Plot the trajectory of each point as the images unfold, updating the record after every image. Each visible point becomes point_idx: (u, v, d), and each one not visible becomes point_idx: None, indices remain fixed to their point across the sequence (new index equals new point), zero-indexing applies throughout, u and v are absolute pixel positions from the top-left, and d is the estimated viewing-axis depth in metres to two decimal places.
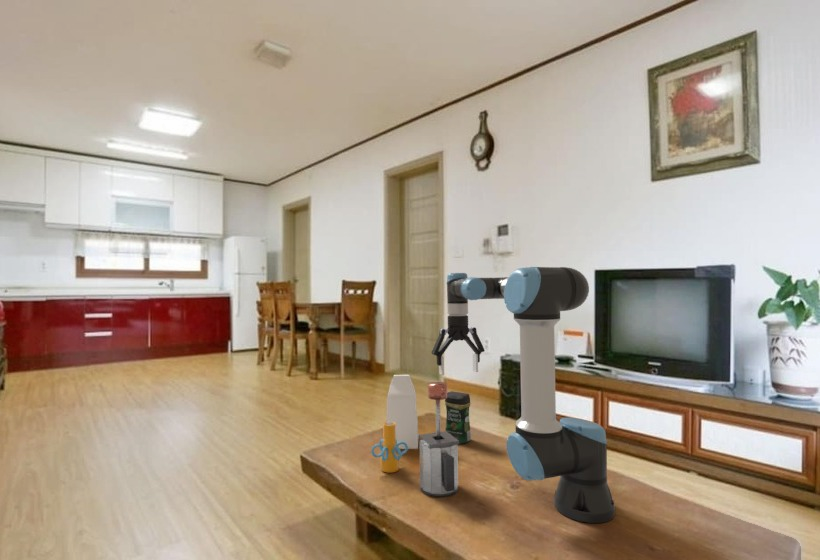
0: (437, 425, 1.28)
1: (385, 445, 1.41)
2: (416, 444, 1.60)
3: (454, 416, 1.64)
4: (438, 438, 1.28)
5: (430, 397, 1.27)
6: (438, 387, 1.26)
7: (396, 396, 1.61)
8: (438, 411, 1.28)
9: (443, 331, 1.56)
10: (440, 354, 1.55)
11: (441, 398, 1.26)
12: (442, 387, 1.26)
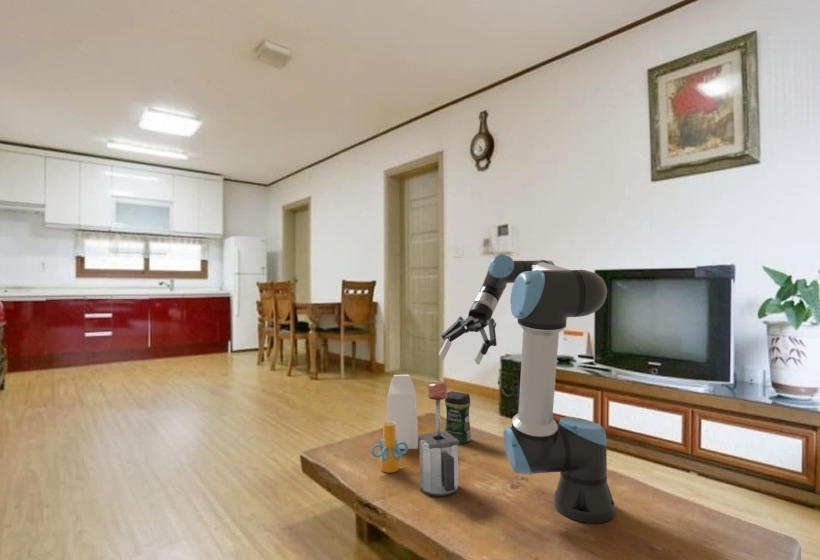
0: (437, 425, 1.28)
1: (385, 445, 1.41)
2: (416, 444, 1.60)
3: (454, 416, 1.64)
4: (438, 438, 1.28)
5: (430, 397, 1.27)
6: (438, 387, 1.26)
7: (396, 396, 1.61)
8: (438, 411, 1.28)
9: (459, 318, 1.49)
10: (446, 336, 1.45)
11: (441, 398, 1.26)
12: (442, 387, 1.26)
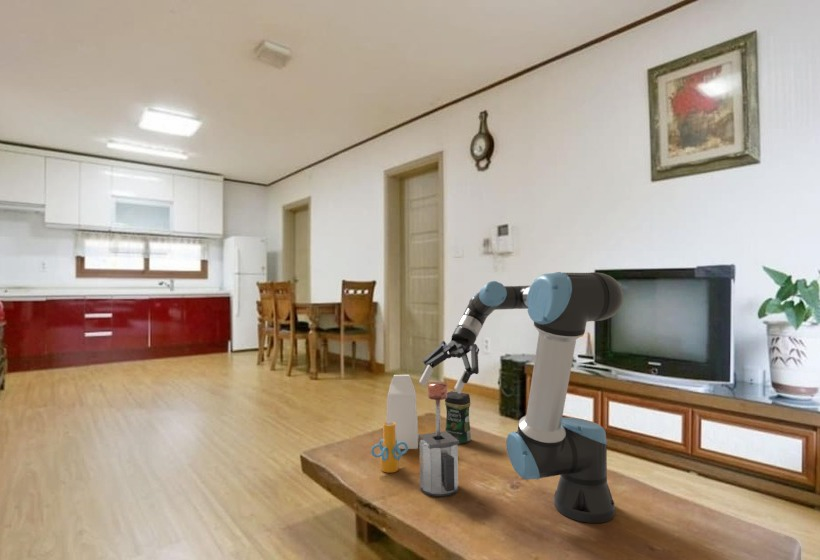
0: (437, 425, 1.28)
1: (385, 445, 1.41)
2: (416, 444, 1.60)
3: (454, 416, 1.64)
4: (438, 438, 1.28)
5: (430, 397, 1.27)
6: (438, 387, 1.26)
7: (396, 396, 1.61)
8: (438, 411, 1.28)
9: (442, 342, 1.43)
10: (428, 362, 1.40)
11: (441, 398, 1.26)
12: (442, 387, 1.26)
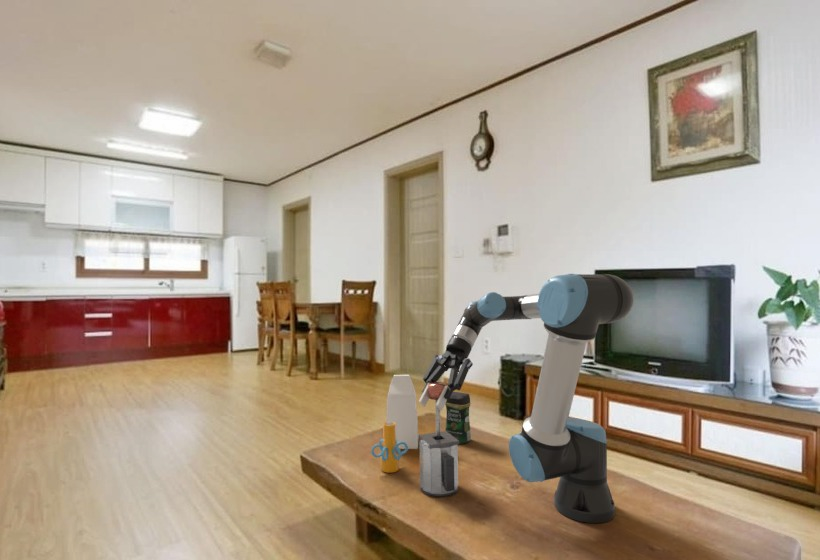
0: (437, 425, 1.28)
1: (385, 445, 1.41)
2: (416, 444, 1.60)
3: (454, 416, 1.64)
4: (438, 438, 1.28)
5: (430, 397, 1.27)
6: (438, 387, 1.26)
7: (396, 396, 1.61)
8: (438, 411, 1.28)
9: (435, 356, 1.38)
10: (428, 380, 1.32)
11: None
12: (442, 387, 1.26)
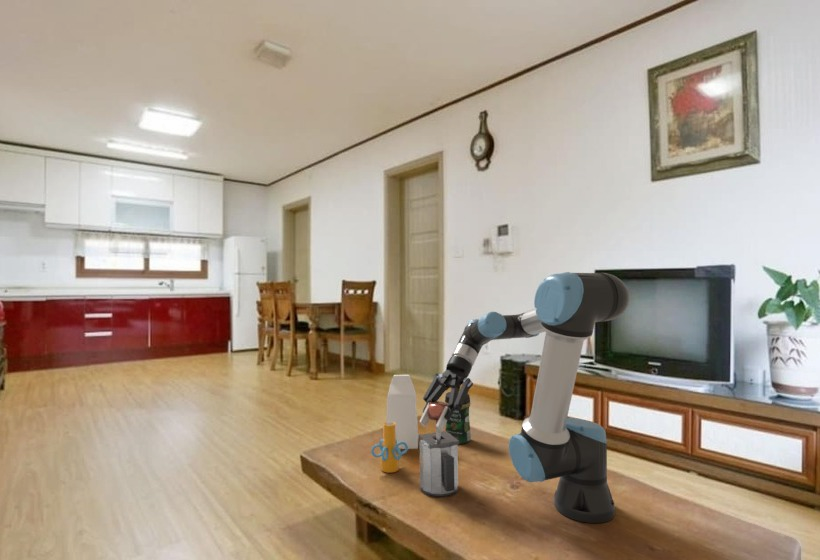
0: None
1: (385, 445, 1.41)
2: (416, 444, 1.60)
3: (454, 416, 1.64)
4: None
5: (430, 417, 1.27)
6: (438, 408, 1.26)
7: (396, 396, 1.61)
8: (438, 431, 1.28)
9: (435, 375, 1.38)
10: (428, 399, 1.32)
11: None
12: (442, 407, 1.26)
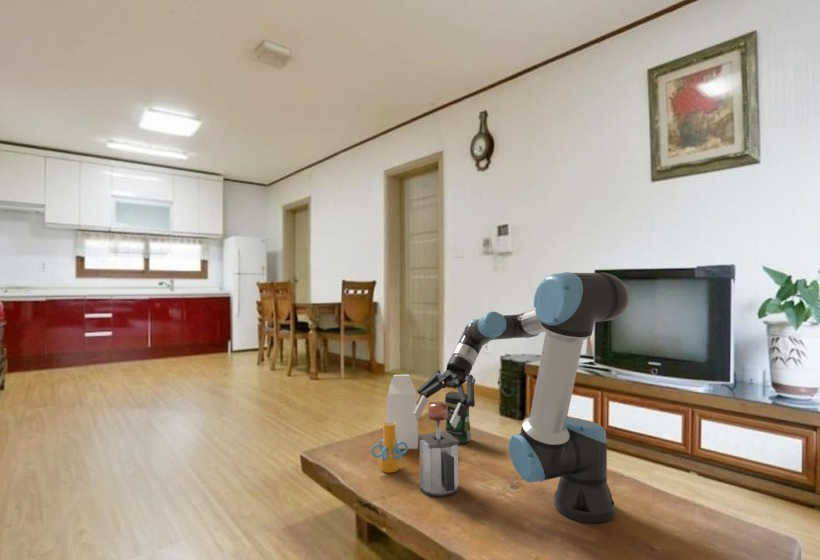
0: None
1: (385, 445, 1.41)
2: (416, 444, 1.60)
3: None
4: None
5: (430, 417, 1.27)
6: (438, 408, 1.26)
7: (396, 396, 1.61)
8: (438, 431, 1.28)
9: (437, 371, 1.39)
10: (422, 392, 1.36)
11: (441, 419, 1.26)
12: (442, 408, 1.26)
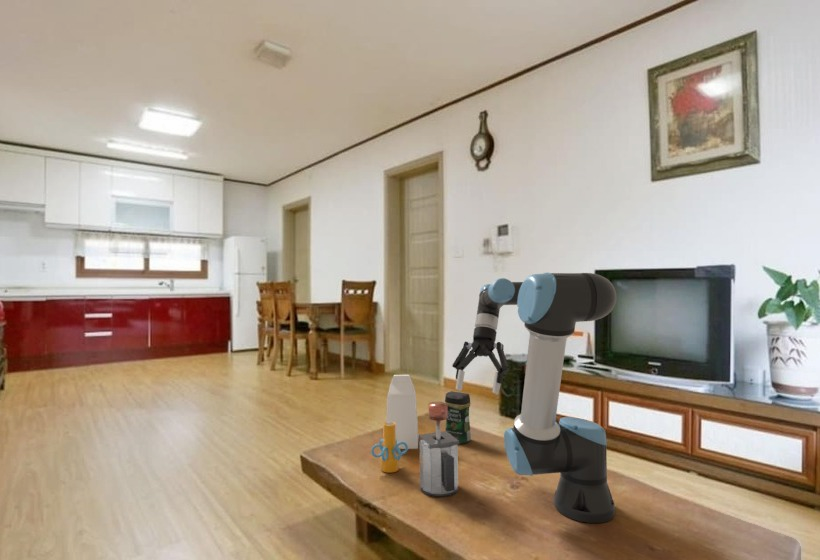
0: None
1: (385, 445, 1.41)
2: (416, 444, 1.60)
3: (454, 416, 1.64)
4: None
5: (430, 417, 1.27)
6: (438, 408, 1.26)
7: (396, 396, 1.61)
8: (438, 431, 1.28)
9: (465, 343, 1.48)
10: (458, 366, 1.46)
11: (441, 419, 1.26)
12: (442, 408, 1.26)
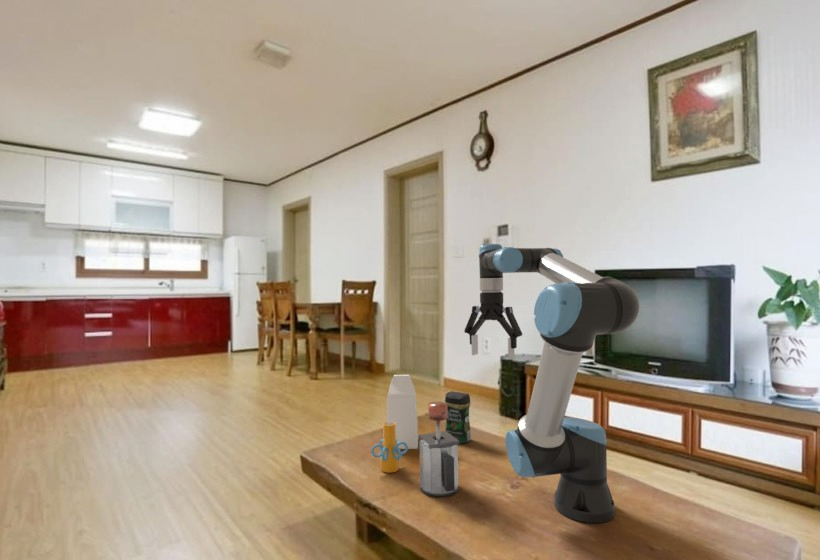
0: None
1: (385, 445, 1.41)
2: (416, 444, 1.60)
3: (454, 416, 1.64)
4: None
5: (430, 417, 1.27)
6: (438, 408, 1.26)
7: (396, 396, 1.61)
8: (438, 431, 1.28)
9: (473, 308, 1.45)
10: (470, 332, 1.46)
11: (441, 419, 1.26)
12: (442, 408, 1.26)
